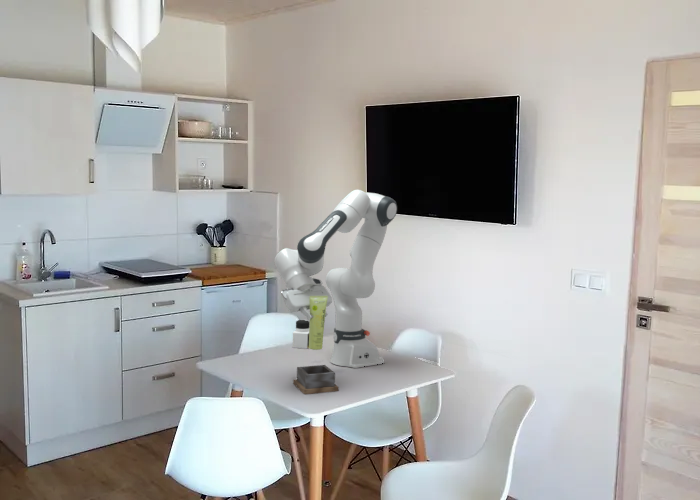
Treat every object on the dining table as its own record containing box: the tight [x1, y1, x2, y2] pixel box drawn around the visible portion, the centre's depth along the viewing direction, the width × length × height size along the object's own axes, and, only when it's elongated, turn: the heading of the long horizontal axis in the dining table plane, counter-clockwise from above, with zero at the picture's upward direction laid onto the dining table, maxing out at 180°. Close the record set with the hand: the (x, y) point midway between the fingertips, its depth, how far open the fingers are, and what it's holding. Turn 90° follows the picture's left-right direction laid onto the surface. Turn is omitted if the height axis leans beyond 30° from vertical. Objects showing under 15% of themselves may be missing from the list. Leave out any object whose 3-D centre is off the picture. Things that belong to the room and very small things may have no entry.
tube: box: [308, 296, 328, 351], centre depth 246 cm, size 6×5×20 cm
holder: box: [292, 364, 339, 395], centre depth 249 cm, size 13×13×6 cm
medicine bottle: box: [292, 319, 310, 350], centre depth 307 cm, size 7×7×12 cm
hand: (318, 317), depth 246 cm, fingers closed on tube, 6 cm apart
